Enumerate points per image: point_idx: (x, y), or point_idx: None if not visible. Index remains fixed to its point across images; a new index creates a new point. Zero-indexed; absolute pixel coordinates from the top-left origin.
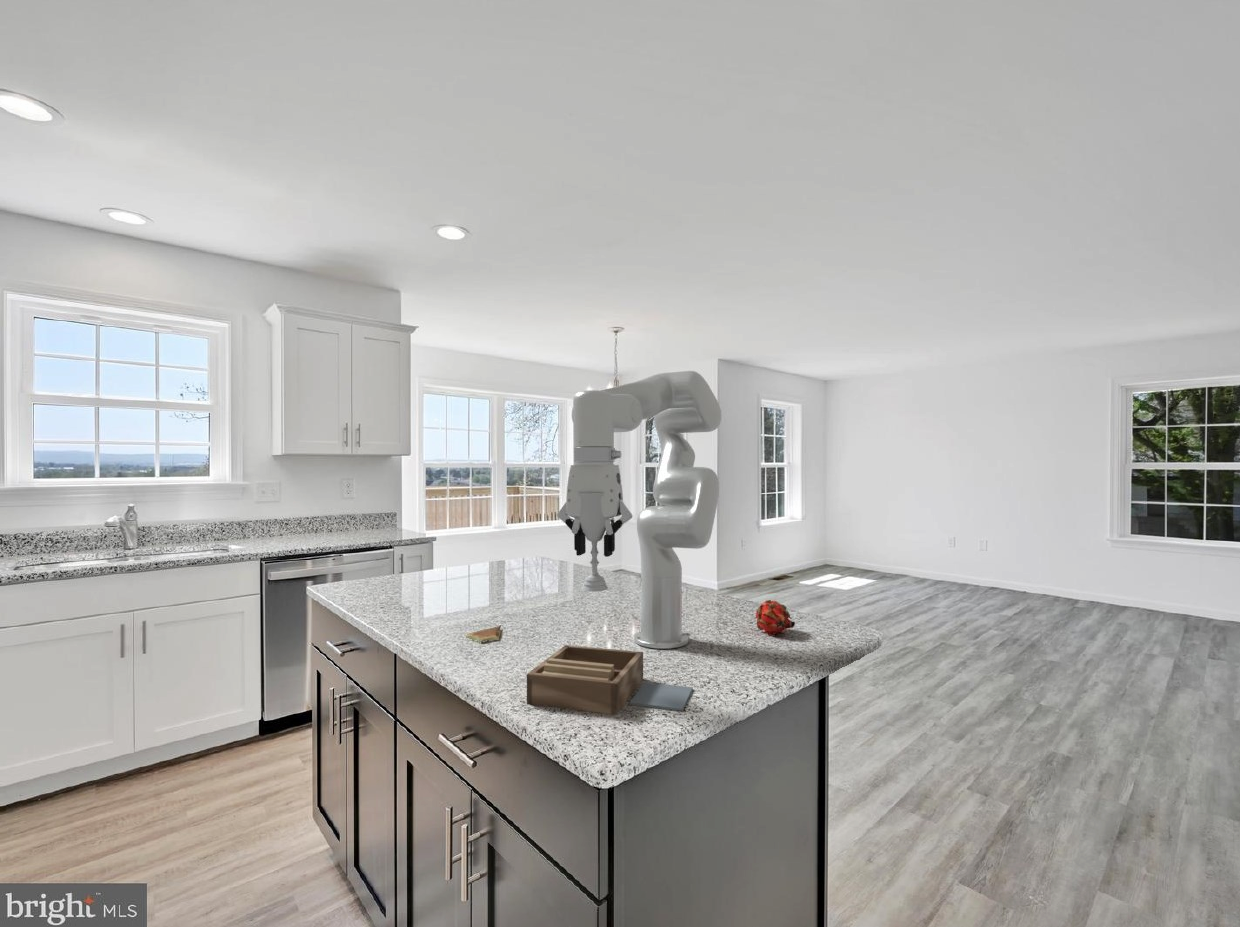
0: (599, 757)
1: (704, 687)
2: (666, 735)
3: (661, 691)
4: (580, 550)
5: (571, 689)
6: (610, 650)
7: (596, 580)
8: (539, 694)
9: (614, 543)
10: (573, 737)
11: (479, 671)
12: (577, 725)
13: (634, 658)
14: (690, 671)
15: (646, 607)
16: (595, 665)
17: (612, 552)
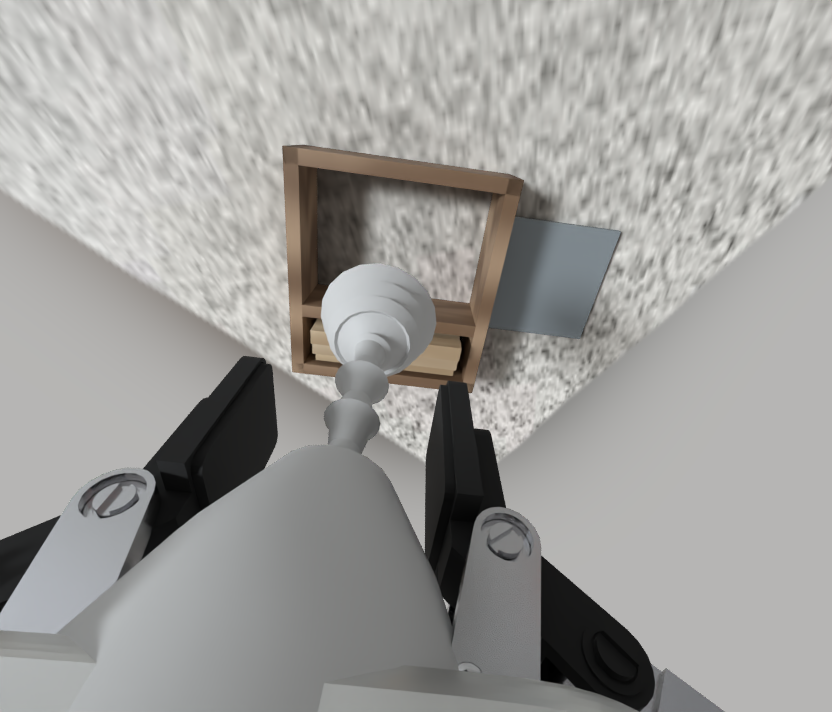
0: None
1: (649, 211)
2: (542, 412)
3: (548, 266)
4: (268, 455)
5: None
6: (428, 179)
7: (392, 374)
8: None
9: (494, 465)
10: (417, 431)
11: (107, 191)
12: (414, 402)
13: (500, 242)
14: (643, 86)
15: None
16: (422, 356)
17: (466, 386)
